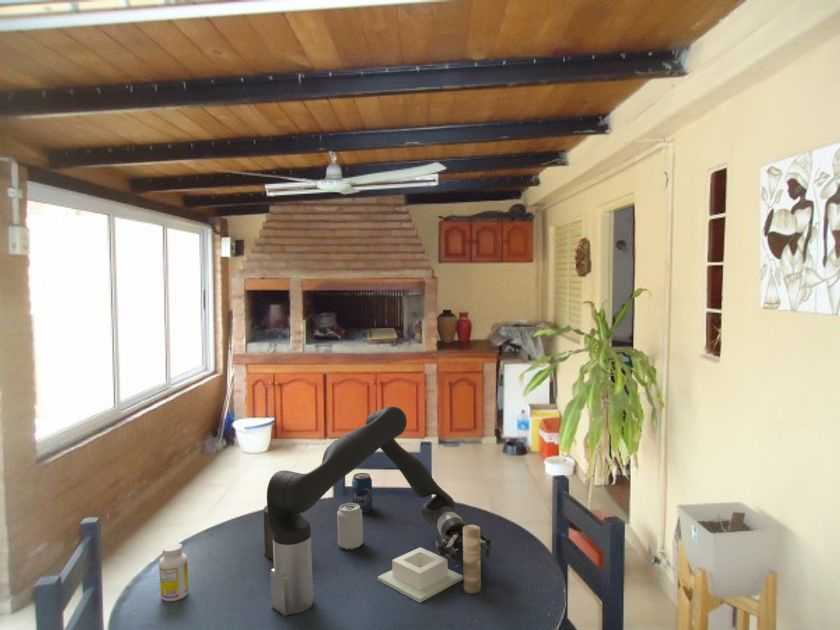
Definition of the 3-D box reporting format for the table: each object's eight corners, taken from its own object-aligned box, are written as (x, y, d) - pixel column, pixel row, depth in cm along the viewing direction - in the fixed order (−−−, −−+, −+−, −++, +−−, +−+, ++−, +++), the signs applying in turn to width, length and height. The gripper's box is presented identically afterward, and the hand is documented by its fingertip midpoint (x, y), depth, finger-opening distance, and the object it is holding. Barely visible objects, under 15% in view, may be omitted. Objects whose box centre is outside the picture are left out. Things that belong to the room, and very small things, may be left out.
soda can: (354, 514, 205) (353, 479, 204) (351, 506, 212) (350, 473, 211) (374, 511, 207) (373, 477, 206) (370, 504, 213) (369, 471, 213)
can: (365, 540, 185) (364, 501, 184) (360, 551, 177) (359, 511, 177) (341, 539, 186) (340, 501, 185) (335, 550, 178) (334, 510, 177)
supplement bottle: (180, 586, 159) (178, 538, 158) (193, 594, 155) (191, 545, 154) (155, 596, 154) (153, 548, 153) (169, 605, 150) (166, 555, 149)
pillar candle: (257, 557, 174) (256, 507, 173) (275, 543, 184) (274, 495, 183) (287, 562, 172) (286, 511, 170) (304, 547, 181) (303, 498, 180)
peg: (473, 595, 152) (472, 533, 151) (460, 589, 155) (459, 528, 154) (484, 588, 155) (483, 528, 154) (471, 582, 158) (470, 523, 157)
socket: (419, 602, 149) (419, 581, 149) (377, 580, 160) (377, 560, 160) (462, 579, 160) (462, 559, 160) (420, 559, 171) (420, 540, 171)
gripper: (428, 519, 168) (444, 544, 153) (477, 514, 172) (497, 538, 156) (429, 545, 169) (445, 573, 153) (477, 539, 172) (497, 566, 157)
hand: (471, 555), depth 155 cm, fingers open, 8 cm apart
